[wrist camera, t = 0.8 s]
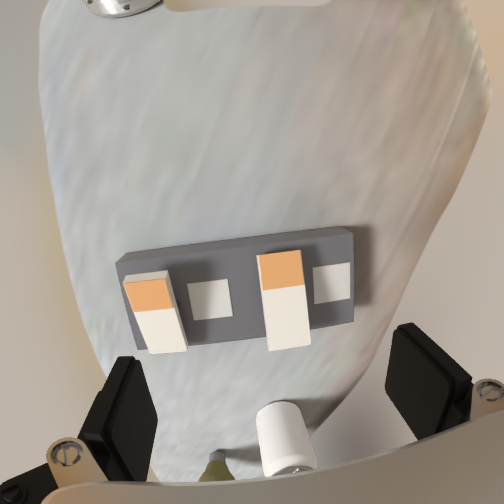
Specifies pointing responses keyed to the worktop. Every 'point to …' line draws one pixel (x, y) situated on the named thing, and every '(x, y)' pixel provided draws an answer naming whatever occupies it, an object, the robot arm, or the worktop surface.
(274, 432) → the can
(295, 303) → the rocker
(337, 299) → the switch panel
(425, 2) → the worktop surface
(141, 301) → the rocker
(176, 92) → the worktop surface
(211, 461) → the light bulb
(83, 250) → the worktop surface
